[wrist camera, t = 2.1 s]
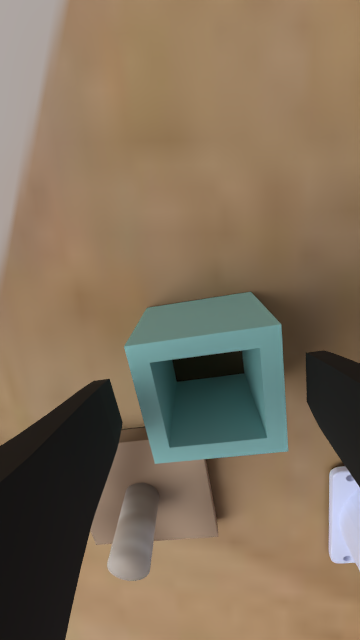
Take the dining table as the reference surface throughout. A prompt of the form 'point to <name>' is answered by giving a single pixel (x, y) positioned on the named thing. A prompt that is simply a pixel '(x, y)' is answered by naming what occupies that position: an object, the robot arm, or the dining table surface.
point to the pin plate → (170, 481)
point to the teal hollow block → (210, 379)
